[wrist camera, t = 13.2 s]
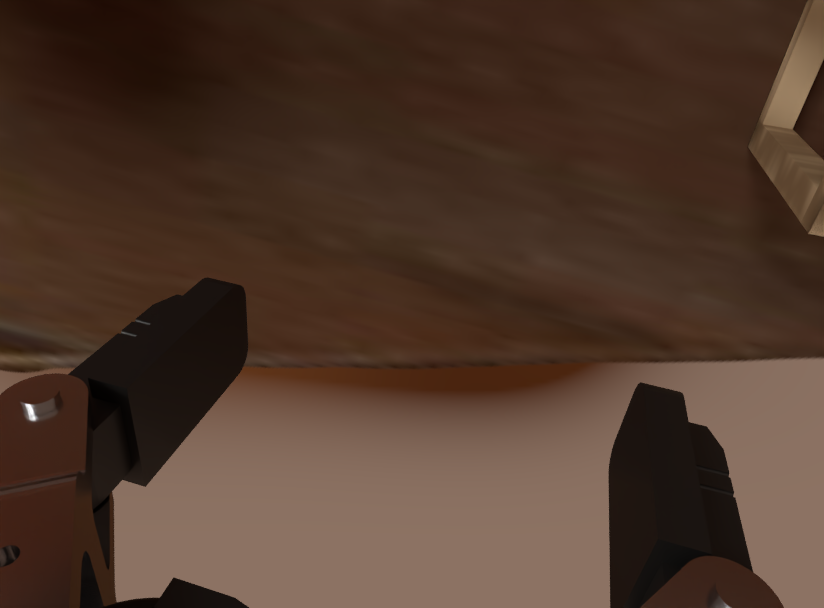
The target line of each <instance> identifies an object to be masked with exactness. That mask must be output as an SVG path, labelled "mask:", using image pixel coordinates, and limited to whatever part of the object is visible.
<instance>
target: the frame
mask: <svg viewBox="0 0 824 608" xmlns="http://www.w3.org/2000/svg"><path fill="white" fill-rule="evenodd" d="M823 59H824V0H808V1H807V3H806V6H805V8H804V10H803V13H802V15H801V18H800V20H799V23H798V25H797V28H796V30H795V32H794V35H793V37H792V40H791V42H790V45H789V47H788V50H787V52H786V54H785V57H784V59H783V62H782V64H781V67H780V69H779V72H778V74H777V76H776V79H775V81H774V84H773V86H772V89H771V91H770V94H769V96H768V98H767V101H766V103H765V106H764V108H763V111H762V113H761V116H760V118H759V120H758V123H757V125H756V128H755V130H754V133H753V135H752V138H751V140H750V142H749V145H748V148H749V149H750V151H751V152H752V154H753V155H754V157H755V158H756V159H757V161H758V162H759V164H760V165H761V167H762V168H763V169H764V171H765V172H766V174H767V175H768V177H769V178H770V179H771V181H772V182H773V184H774V185H775V187H776V188H777V189H778V191H779V192H780V194H781V195H782V197H783V198H784V200H785V201H786V202H787V204H788V205H789V207H790V208H791V210H792V211H793V212H794V214H795V215H796V217H797V218H798V220H799V221H800V222H801V224H802V225H803V227H804V228H805V230H806V231H807V232H808V234H812V235H818V236H823V237H824V160H823V159H822V158H821V157H820V156H819V155H818V154H817V153H816V152H815V151H814V150H813V149H812V148H811V147H810V146H809V145H808V144H807V143H806V142H805V141H804V140H803V139H802V138H801V137H800V136H799V135H798V134H797V133H796V132H795V131H794V130H793V127H794V125H795V123H796V120H797V118H798V116H799V114H800V111H801V109H802V107H803V105H804V102H805V100H806V98H807V96H808V93H809V91H810V89H811V87H812V84H813V82H814V80H815V78H816V75H817V73H818V71H819V69H820V66H821V64H822V62H823Z"/></svg>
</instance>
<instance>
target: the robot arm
mask: <svg viewBox="0 0 824 608" xmlns="http://www.w3.org/2000/svg"><path fill="white" fill-rule="evenodd" d="M247 352H248V333H247V312H246V295H245V290H244V288H243V287H242V286H241V285H237V284H233V283H228V282H224V281H220V280H216V279H212V278H204V279H202V280H201V281H200V282H198V283H197V284H196V285H195V286H194V287H193V288H191V289H190V290H189V291H188V292H187V293H186V294H184V295H183V296H181V295H175V296H172V297H170V298H168V299H165V300H163V301H161V302H158V303H156V304H154V305H152V306H151V307H150V308H148V309H147V310H146V311H145V312H144V313H142V314H141V315H140V316H139V317H137V318H136V321H135V322H131V323H130V324H129V325H128V326H127V327H125V328H124V329H123V330H122V332H121V334H117V335H116V336H114V337H113V338H112V339H111V340H109V341H108V342H107V343H106V344H105V345H103V346H102V347H101V348H100V349H98V350H97V351H96V352H95V353H94V354H92V355H91V356H90V357H89V358H87V359H86V360H85V361H84V362H83V363H81V364H80V365H79V366H78V367H76V368H75V369H74V370H73V371H72V372H70V373H69V374H68V375H67V374H44V375H40V376H35V377H31V378H28V379H25V380H23V381H20V382H18V383H16V384H14V385H13V386H11V387H9V388H8V389H6V390H5V391H4V392H3V393H2V394H1V395H0V608H249V607H247V606H246V605H244V604H243V603H242V602H240V601H239V600H237V599H236V598H234V597H231V596H228V595H225V594H222V593H219V592H216V591H213V590H209V589H207V588H204V587H201V586H198V585H195V584H191V583H189V582H185V581H183V580H180V579H176V578H173V579H172V581H171V582H170V584H169V585H168V587H167V588H166V590H165V591H164V593H163V594H162V596H161V597H160V598H143V599H133V600H128V601H123V602H116V595H115V573H114V572H115V569H114V499H113V494H112V491H113V490H114V488H115V487H116V486H117V485H118V484H119V483H120V481H122V480H125V481H128V482H132V483H135V484H138V485H141V486H145V487H146V485H147V484H148V483H149V482H150V481H151V479H152V478H153V477H154V476H155V475H156V473H157V472H158V471H159V470H160V469H161V467H162V466H163V465H164V464H165V463H166V461H167V460H168V459H169V458H170V457H171V455H172V454H173V453H174V452H175V451H176V449H177V448H178V447H179V446H180V445H181V443H182V442H183V441H184V440H185V438H186V437H187V436H188V435H189V434H190V432H191V431H192V430H193V429H194V428H195V426H196V425H197V424H198V423H199V422H200V420H201V419H202V418H203V417H204V416H205V414H206V413H207V412H208V411H209V410H210V408H211V407H212V406H213V405H214V403H215V402H216V401H217V400H218V398H220V396H221V395H222V394H223V393H224V391H225V390H226V389H227V388H228V387H229V385H230V384H231V383H232V382H233V381H234V379H235V378H236V377H237V376H238V374H239V373H240V372H241V370H242V368H243V366H244V363H245V360H246V357H247ZM733 494H734V491H733V487H732V483H731V479H730V478H729V470H728V466H727V461H726V457H725V453H724V450H723V448H722V447H721V446H720V444H719V443H718V441H717V440H716V439H715V437H714V436H713V435H712V433H711V432H710V430H709V429H708V428H707V427H706V426H702V425H698V424H694V423H690V422H688V417H687V411H686V406H685V400H684V396H683V394H682V393H681V392H678V391H673V390H670V389H665V388H661V387H657V386H653V385H649V384H645V383H639V384H638V386H637V387H636V389H635V391H634V394H633V396H632V399H631V401H630V404H629V406H628V409H627V411H626V414H625V416H624V419H623V422H622V424H621V427H620V430H619V432H618V434H617V437H616V439H615V442H614V445H613V449H612V453H611V458H610V464H609V533H610V534H609V536H610V537H609V538H610V608H784V607H783V605H782V603H781V602H780V600H779V598H778V597H777V595H776V594H775V593H774V592H773V590H772V589H771V588H770V587H769V586H768V585H767V584H766V583H765V582H764V581H763V580H762V579H761V578H760V577H759V576H757V575H756V574H754V573H753V570H752V566H751V562H750V558H749V554H748V549H747V546H746V541H745V537H744V533H743V529H742V524H741V520H740V516H739V512H738V507H737V503H736V500H735V498H734V497H733Z"/></svg>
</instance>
